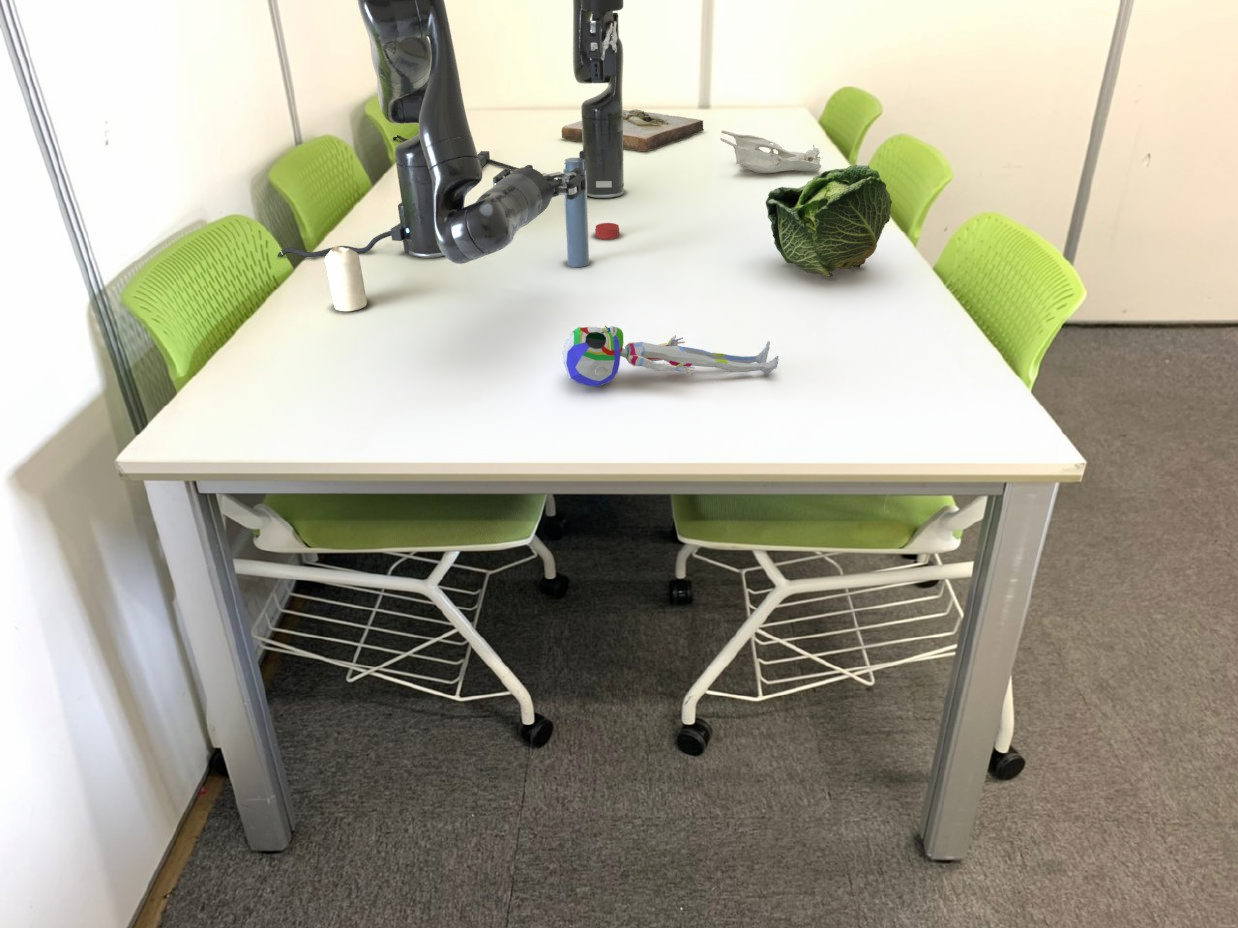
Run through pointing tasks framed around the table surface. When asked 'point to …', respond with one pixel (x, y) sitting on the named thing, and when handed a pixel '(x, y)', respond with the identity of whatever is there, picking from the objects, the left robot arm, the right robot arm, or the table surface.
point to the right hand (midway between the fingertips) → (604, 78)
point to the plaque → (645, 129)
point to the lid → (607, 231)
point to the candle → (345, 279)
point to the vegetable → (830, 219)
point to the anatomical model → (770, 155)
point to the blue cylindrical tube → (576, 220)
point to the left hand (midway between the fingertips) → (554, 172)
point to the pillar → (483, 157)
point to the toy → (644, 356)
